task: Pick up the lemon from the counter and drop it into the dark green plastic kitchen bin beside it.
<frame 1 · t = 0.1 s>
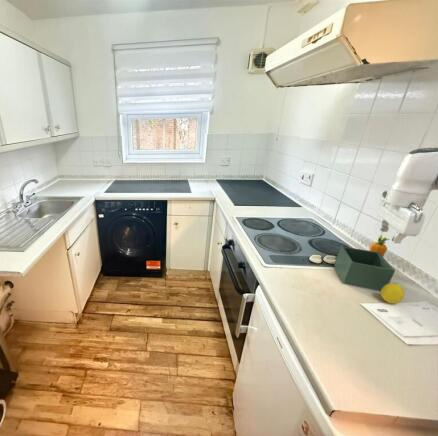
hand: (389, 236, 83), 21 cm above the worktop, tool pointing down, fingers open, 8 cm apart
carrot: (370, 267, 103), on the worktop
bin: (357, 278, 96), on the worktop
lemon: (387, 303, 83), on the worktop
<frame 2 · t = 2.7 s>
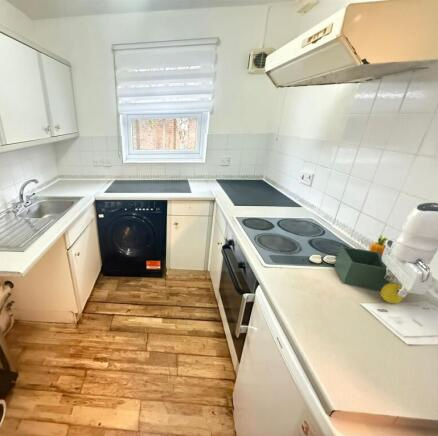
hand: (394, 287, 81), 6 cm above the worktop, tool pointing down, fingers open, 7 cm apart
nothing on the worktop moved.
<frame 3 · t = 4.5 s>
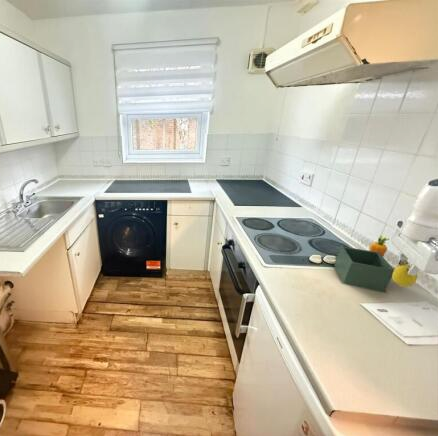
hand: (405, 269, 78), 14 cm above the worktop, tool pointing down, fingers closed on lemon, 4 cm apart
lemon: (400, 286, 80), point 7 cm above the worktop, touching gripper
everything else where it was.
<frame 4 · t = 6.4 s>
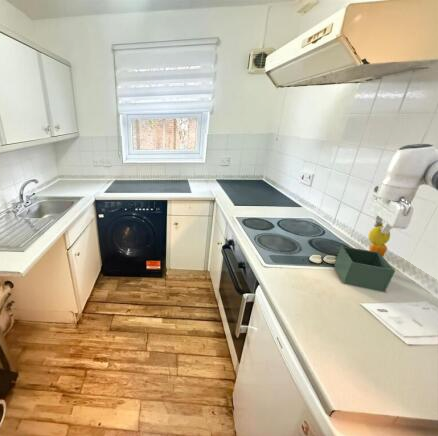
hand: (380, 229, 86), 22 cm above the worktop, tool pointing down, fingers closed on lemon, 4 cm apart
lemon: (375, 246, 89), point 16 cm above the worktop, touching gripper
everything else where it was.
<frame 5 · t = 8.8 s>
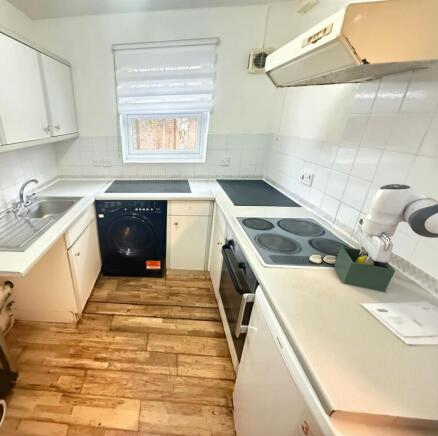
hand: (365, 259, 93), 9 cm above the worktop, tool pointing down, fingers closed on lemon, 4 cm apart
lemon: (360, 274, 95), point 2 cm above the worktop, touching gripper
everything else where it was.
when the fingers open (7 cm above the worktop, at t = 9.7 s): lemon stays where it is, resting on bin.
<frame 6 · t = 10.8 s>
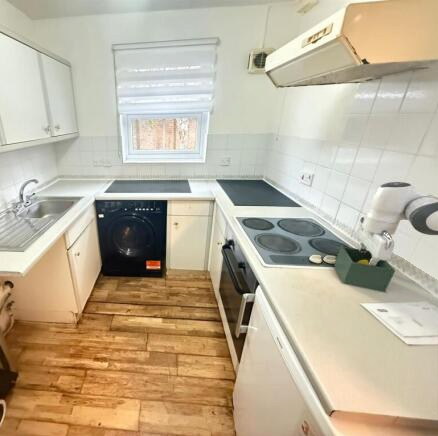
hand: (366, 258, 92), 9 cm above the worktop, tool pointing down, fingers open, 8 cm apart
lemon: (359, 277, 95), point 1 cm above the worktop, touching bin
everything else where it was.
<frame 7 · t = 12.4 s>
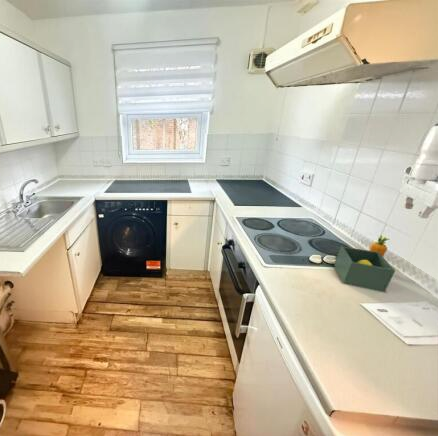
hand: (414, 212, 82), 30 cm above the worktop, tool pointing down, fingers open, 8 cm apart
nothing on the worktop moved.
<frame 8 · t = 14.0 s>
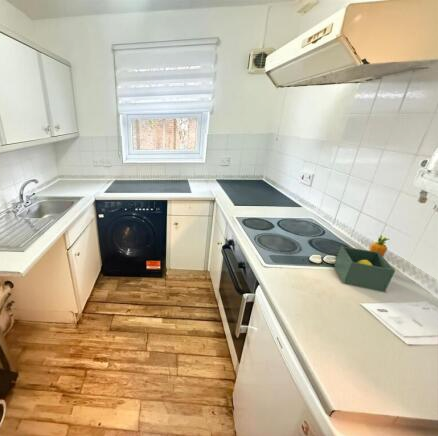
hand: (428, 206, 80), 32 cm above the worktop, tool pointing down, fingers open, 8 cm apart
nothing on the worktop moved.
at the end: lemon inside the target area in the bin (0.6 cm from its centre), point 0.6 cm above the bin's base; the gripper is holding nothing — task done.
